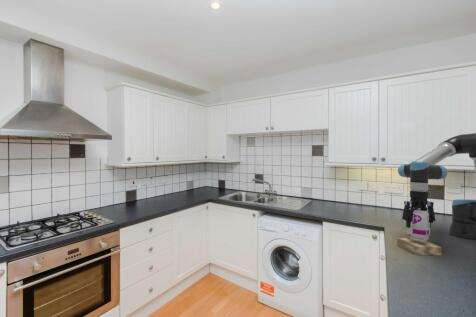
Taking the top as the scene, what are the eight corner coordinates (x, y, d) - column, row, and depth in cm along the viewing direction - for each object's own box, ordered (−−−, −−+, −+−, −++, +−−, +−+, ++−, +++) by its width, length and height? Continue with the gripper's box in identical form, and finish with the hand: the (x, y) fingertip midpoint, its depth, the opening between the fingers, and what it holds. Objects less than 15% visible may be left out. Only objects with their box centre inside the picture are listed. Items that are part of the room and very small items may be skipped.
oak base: (421, 245, 126) (421, 238, 126) (441, 255, 113) (441, 247, 113) (397, 245, 126) (397, 237, 126) (415, 254, 113) (415, 246, 113)
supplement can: (420, 241, 115) (420, 211, 115) (404, 236, 123) (405, 208, 123) (432, 240, 117) (432, 211, 117) (416, 235, 125) (416, 207, 125)
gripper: (433, 190, 124) (432, 232, 123) (393, 189, 124) (393, 231, 124) (445, 192, 116) (445, 237, 116) (403, 191, 117) (403, 236, 116)
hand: (418, 234), depth 120 cm, fingers closed on supplement can, 8 cm apart
